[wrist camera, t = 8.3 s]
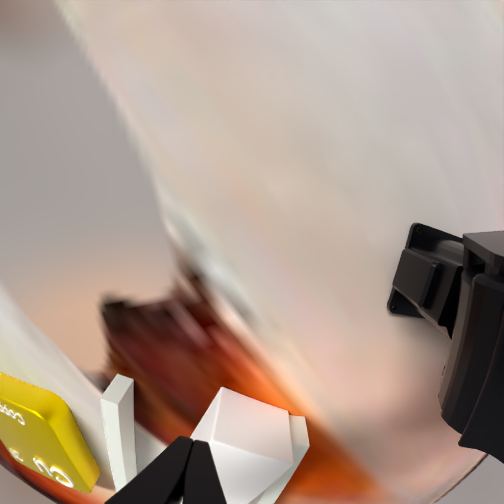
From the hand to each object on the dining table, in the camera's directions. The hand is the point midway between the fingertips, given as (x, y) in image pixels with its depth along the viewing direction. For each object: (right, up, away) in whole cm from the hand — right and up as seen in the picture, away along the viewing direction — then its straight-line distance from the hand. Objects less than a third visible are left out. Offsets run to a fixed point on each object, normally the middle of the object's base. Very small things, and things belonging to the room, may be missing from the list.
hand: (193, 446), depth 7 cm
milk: (+2, -7, +11) cm, 13 cm away
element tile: (-25, -16, +18) cm, 35 cm away
